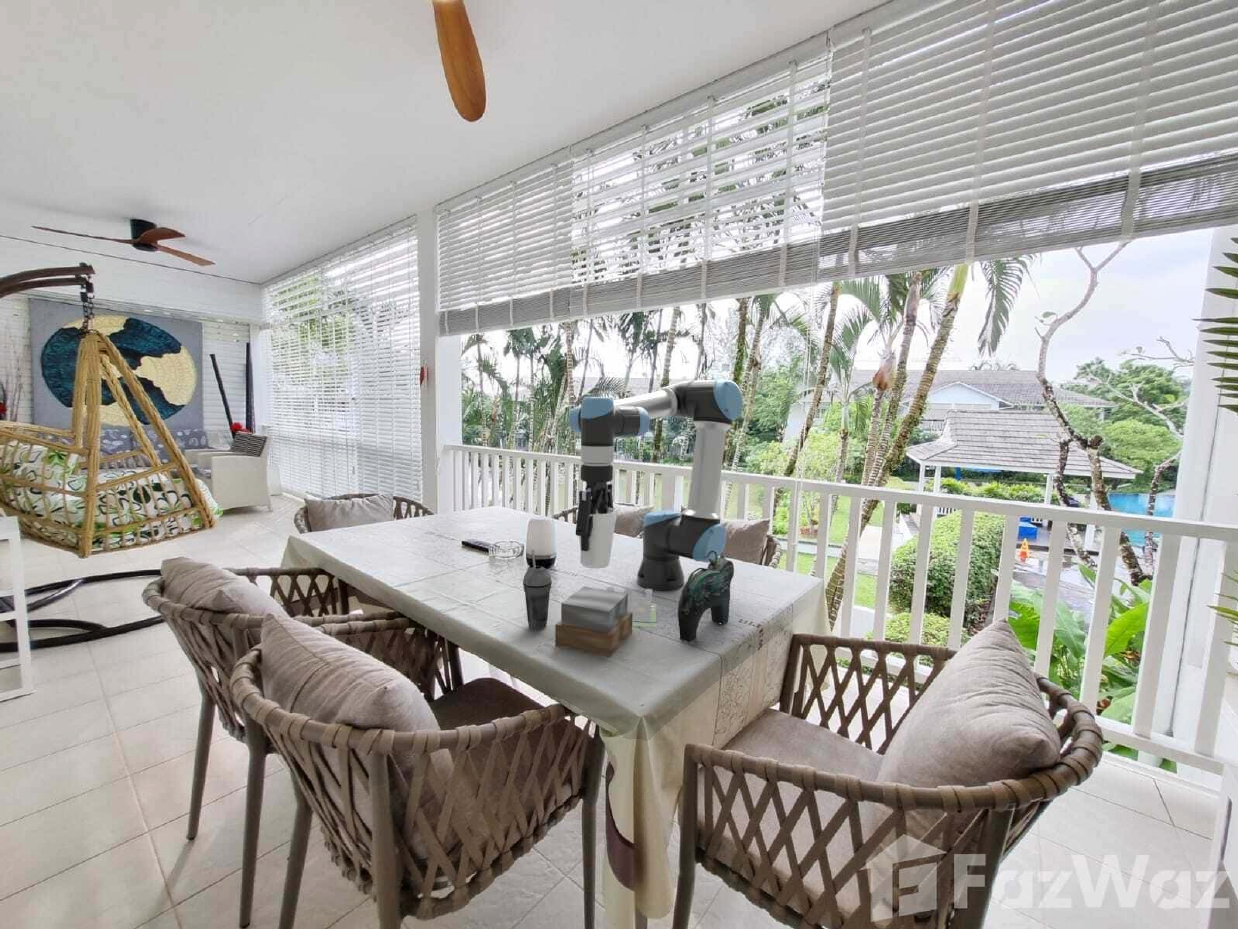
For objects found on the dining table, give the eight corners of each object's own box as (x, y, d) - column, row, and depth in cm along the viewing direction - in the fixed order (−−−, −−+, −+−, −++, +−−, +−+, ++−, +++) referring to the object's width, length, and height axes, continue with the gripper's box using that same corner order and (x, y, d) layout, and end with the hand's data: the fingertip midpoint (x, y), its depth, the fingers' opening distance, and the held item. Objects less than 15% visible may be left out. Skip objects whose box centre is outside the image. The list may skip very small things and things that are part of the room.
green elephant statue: (717, 614, 135) (720, 542, 133) (738, 621, 131) (741, 547, 128) (672, 638, 121) (674, 558, 119) (694, 647, 116) (697, 564, 114)
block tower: (581, 621, 129) (581, 584, 128) (632, 631, 124) (632, 592, 123) (555, 645, 116) (555, 604, 115) (610, 657, 111) (611, 614, 110)
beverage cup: (554, 630, 124) (554, 552, 122) (525, 634, 121) (524, 554, 119) (548, 619, 131) (548, 544, 128) (520, 622, 128) (520, 546, 126)
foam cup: (568, 566, 116) (568, 511, 115) (588, 556, 124) (589, 505, 123) (603, 573, 112) (604, 516, 110) (622, 562, 120) (623, 509, 118)
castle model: (656, 606, 142) (657, 580, 141) (655, 628, 127) (656, 600, 126) (604, 603, 143) (604, 578, 142) (597, 625, 128) (597, 597, 127)
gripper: (601, 459, 127) (600, 544, 129) (559, 467, 107) (559, 569, 109) (628, 460, 124) (627, 548, 127) (591, 469, 104) (590, 574, 106)
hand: (595, 557), depth 118 cm, fingers closed on foam cup, 9 cm apart
